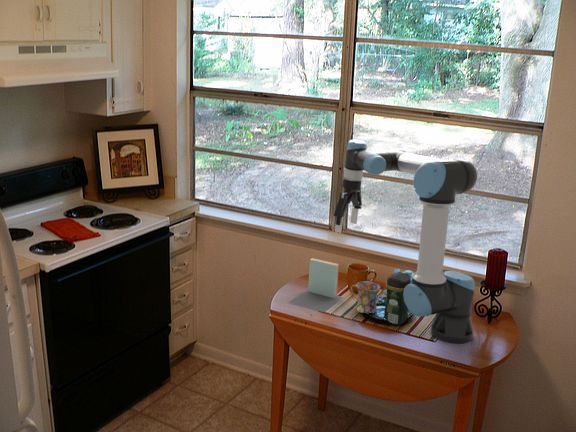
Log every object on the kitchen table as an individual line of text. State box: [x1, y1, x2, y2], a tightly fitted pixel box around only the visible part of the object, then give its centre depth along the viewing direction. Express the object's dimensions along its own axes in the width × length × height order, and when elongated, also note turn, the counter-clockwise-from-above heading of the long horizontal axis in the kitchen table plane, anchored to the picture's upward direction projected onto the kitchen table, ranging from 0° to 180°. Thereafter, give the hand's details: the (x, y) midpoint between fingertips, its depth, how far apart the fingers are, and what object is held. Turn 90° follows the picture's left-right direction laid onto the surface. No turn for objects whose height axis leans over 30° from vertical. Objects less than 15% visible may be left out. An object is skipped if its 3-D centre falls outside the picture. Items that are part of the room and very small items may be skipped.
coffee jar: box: [383, 271, 411, 326], centre depth 245 cm, size 10×8×19 cm
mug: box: [350, 280, 381, 314], centre depth 254 cm, size 12×9×11 cm
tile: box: [307, 257, 340, 298], centre depth 265 cm, size 2×12×14 cm, turn 61°
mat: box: [287, 288, 345, 313], centre depth 261 cm, size 18×16×1 cm
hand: (345, 227), depth 269 cm, fingers open, 13 cm apart
